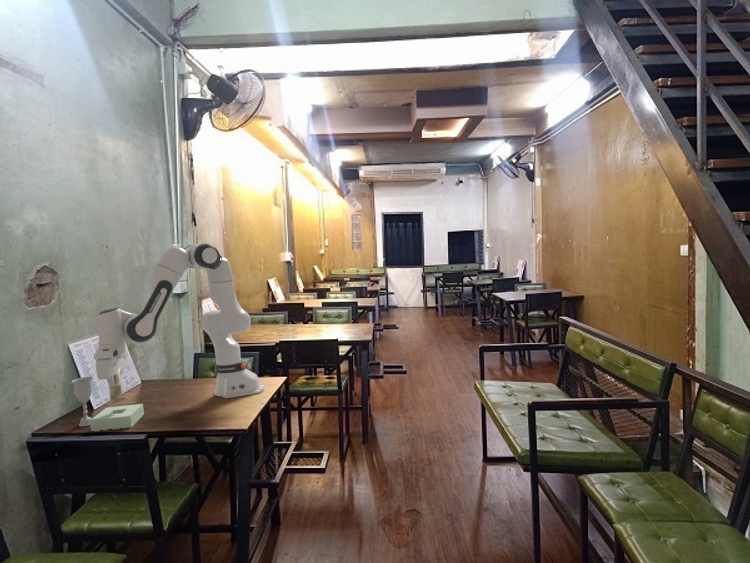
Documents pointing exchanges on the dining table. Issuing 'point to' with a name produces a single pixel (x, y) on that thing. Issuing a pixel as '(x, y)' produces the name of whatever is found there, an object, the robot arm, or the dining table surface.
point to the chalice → (83, 396)
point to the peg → (116, 389)
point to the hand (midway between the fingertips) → (114, 384)
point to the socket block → (117, 417)
